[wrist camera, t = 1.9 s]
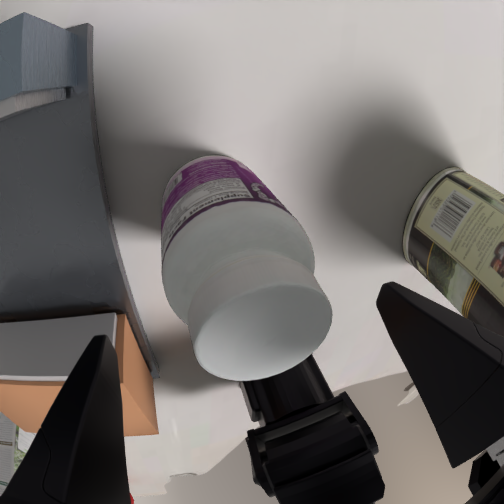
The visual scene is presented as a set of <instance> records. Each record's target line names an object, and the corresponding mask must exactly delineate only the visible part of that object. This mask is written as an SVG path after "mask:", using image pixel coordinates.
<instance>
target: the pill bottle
mask: <svg viewBox="0 0 504 504" xmlns="http://www.w3.org/2000/svg"><path fill="white" fill-rule="evenodd" d="M161 255H162V280H163V285H164V291H165V294H166V297H167V300H168V302H169V304H170V306H171V308H172V309H173V311H174V312H175V313H176V315H177V316H178V317H179V318H180V319H181V320H182V321H183V322H184V323H186V324H187V325H188V328H189V331H190V336H191V341H192V346H193V351H194V354H195V356H196V358H197V361H198V363H199V364H200V365H201V366H202V367H203V368H204V369H205V370H206V371H207V372H209V373H211V374H213V375H215V376H217V377H220V378H223V379H228V380H234V381H250V380H257V379H263V378H267V377H270V376H273V375H277V374H279V373H282V372H284V371H286V370H288V369H290V368H292V367H294V366H296V365H297V364H299V363H300V362H302V361H303V360H305V359H306V358H307V357H308V356H310V355H311V354H312V353H313V352H314V351H315V350H316V349H317V348H318V347H319V346H320V344H321V343H322V342H323V340H324V339H325V337H326V335H327V333H328V331H329V329H330V326H331V323H332V308H331V305H330V302H329V300H328V298H327V296H326V295H325V293H324V292H323V290H322V289H321V287H320V286H319V284H318V282H317V280H316V278H315V277H314V267H315V261H314V252H313V248H312V245H311V242H310V240H309V238H308V236H307V234H306V232H305V231H304V229H303V228H302V226H301V224H300V223H299V222H298V221H297V219H296V218H295V217H294V216H292V214H291V213H290V212H289V211H288V210H287V209H286V208H285V207H284V205H283V204H282V203H281V202H280V201H279V200H278V199H277V198H276V197H275V196H274V195H273V193H272V192H271V191H270V190H269V189H268V188H267V187H266V185H265V184H264V183H263V182H262V181H261V180H260V179H259V178H258V177H257V176H256V175H255V174H254V173H253V172H252V171H251V170H250V169H249V168H248V167H247V166H245V165H244V164H243V163H241V162H239V161H237V160H235V159H233V158H230V157H226V156H218V155H212V156H203V157H200V158H197V159H194V160H192V161H190V162H188V163H187V164H185V165H184V166H182V167H181V168H180V169H179V170H178V171H177V172H176V173H175V174H174V175H173V176H172V177H171V179H170V180H169V182H168V184H167V186H166V188H165V191H164V196H163V201H162V221H161Z"/></svg>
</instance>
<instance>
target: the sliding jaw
mask: <svg viewBox="0 0 504 504" xmlns="http://www.w3.org/2000/svg"><path fill="white" fill-rule="evenodd" d="M103 334H106V335H107V336H108V337H109V339H110V341H111V343H112V345H113V347H114V349H115V351H116V353H117V358H118V368H119V378H120V387H121V395H122V404H123V427H124V436H141V435H155V434H159V432H158V424H157V416H156V408H155V398H154V388H153V378H152V376H151V374H150V372H149V369H148V367H147V365H146V363H145V361H144V358H143V356H142V354H141V351H140V349H139V347H138V344H137V342H136V340H135V337H134V335H133V332H132V330H131V327H130V325H129V322H128V320H127V317H126V314H120V315H116V313H106V314H97V315H88V316H79V317H69V318H59V319H48V320H36V321H24V322H10V323H0V412H2V413H3V414H4V415H5V416H6V417H7V418H9V419H10V420H11V421H12V422H13V423H15V424H16V425H17V426H18V427H20V428H21V429H22V430H24V431H25V432H30V433H37V432H38V430H39V428H41V424H42V422H43V420H44V418H45V417H46V415H47V413H48V411H49V409H50V407H51V406H52V404H53V402H54V400H55V398H56V397H57V395H58V393H59V391H60V390H61V388H62V386H63V384H64V383H65V381H66V379H67V378H68V376H69V374H70V373H71V371H72V369H73V368H74V366H75V364H76V363H77V361H78V359H79V358H80V356H81V355H82V353H83V352H84V350H85V348H86V347H87V345H88V344H89V342H90V341H91V339H92V338H93V336H95V335H103Z"/></svg>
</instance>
